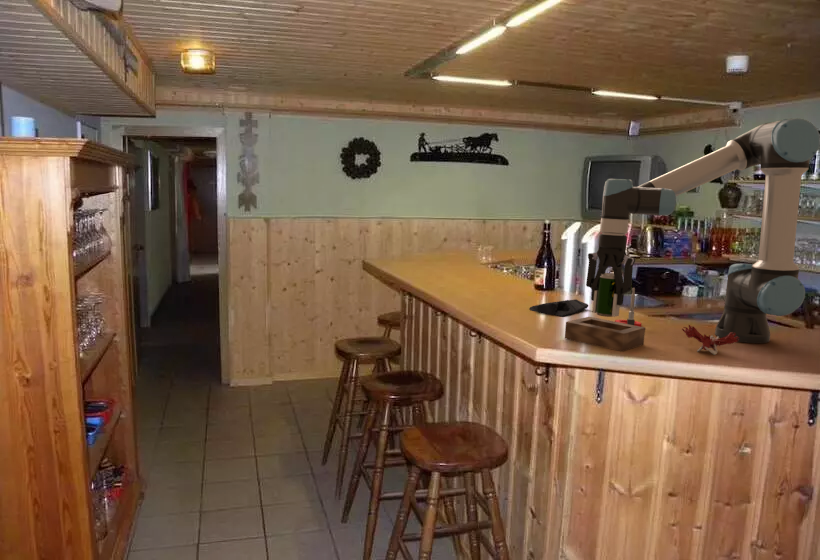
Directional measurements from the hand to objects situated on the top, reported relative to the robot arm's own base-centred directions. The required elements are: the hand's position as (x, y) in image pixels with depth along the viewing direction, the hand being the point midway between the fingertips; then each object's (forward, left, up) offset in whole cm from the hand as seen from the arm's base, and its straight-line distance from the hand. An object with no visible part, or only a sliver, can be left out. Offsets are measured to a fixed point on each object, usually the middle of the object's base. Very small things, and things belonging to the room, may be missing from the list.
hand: (605, 313), depth 182 cm
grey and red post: (+7, -29, -9) cm, 31 cm away
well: (0, 0, -8) cm, 8 cm away
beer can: (0, 0, -1) cm, 1 cm away
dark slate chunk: (+34, -31, -9) cm, 47 cm away
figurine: (-24, -14, -8) cm, 29 cm away
